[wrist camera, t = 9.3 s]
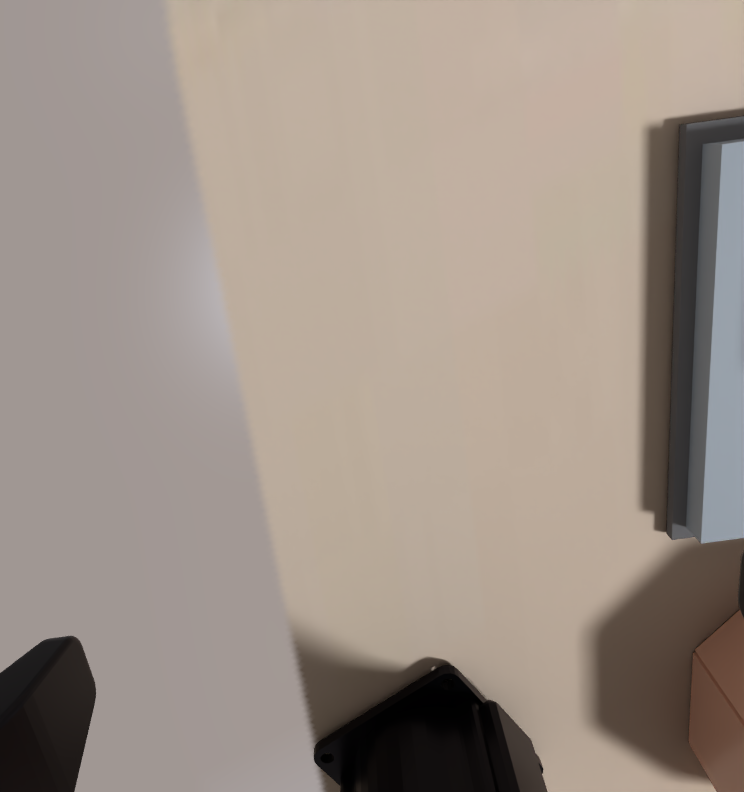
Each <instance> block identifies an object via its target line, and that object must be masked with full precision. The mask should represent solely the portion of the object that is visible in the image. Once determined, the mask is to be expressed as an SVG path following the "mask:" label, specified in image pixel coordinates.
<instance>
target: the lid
mask: <svg viewBox="0 0 744 792" xmlns="http://www.w3.org/2000/svg"><path fill="white" fill-rule="evenodd" d="M686 527H687V528H688V530H689V531H690V532H691V533H692V534H693V535H694V536H695V537H696V539H697V540H698V541H699V542H700V543H701V544H702V543H709V542H717V541H724V540H732V539H739V538H744V139H737V140H729V141H722V142H715V143H707V144H703V147H702V170H701V194H700V217H699V240H698V263H697V286H696V309H695V332H694V355H693V378H692V401H691V424H690V448H689V471H688V494H687V517H686Z"/></svg>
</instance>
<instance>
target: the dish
mask: <svg viewBox="0 0 744 792" xmlns="http://www.w3.org/2000/svg"><path fill="white" fill-rule="evenodd" d="M695 651H696V653H693V663H692V682H691V701H690V721H689V740H688V742H689V744H690V746H691V748H692V749H693V751H694V753H695V755H696V756H697V758H698V760H699V762H700V763H701V765H702V767H703V769H704V770H705V772H706V774H707V776H708V777H709V779H710V781H711V782H712V784H713V786H714V788H715V789H716V791H717V792H744V618H743V616H742V613H741V611H740V610H739V611H738V612H737V613H735V614H734V615H733V616H732V617H731V618H730V619H729V620H728V621H727V622H725V623H724V624H723V625H722V626H721V627H720V628H719V629H718V630H716V631H715V632H714V633H713V634H712V635H711V636H710V637H709V638H707V639H706V640H705V641H704V642H703V643H702V644H701V645H700V646H698V647H697V648H696V649H695Z"/></svg>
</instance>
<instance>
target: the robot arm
mask: <svg viewBox="0 0 744 792" xmlns="http://www.w3.org/2000/svg"><path fill="white" fill-rule="evenodd" d="M738 603H739V607H740V611H741V613H742V616H743V618H744V551H743V553H742V556H741V564H740V577H739V589H738ZM445 679H451V680H450V681H447V682H445V681H443V680H445ZM95 698H96V688H95V682H94V678H93V676H92V673H91V670H90V667H89V664H88V661H87V659H86V656H85V653H84V650H83V647H82V645H81V643H80V641H79V640H78V639H77V638H76V637H74V636H66V637H59V638H51V639H46V640H44V641H42V642H40V643H39V644H38V645H36V646H35V647H34V648H33V649H31V650H30V651H29V652H27V653H26V654H25V655H24V656H22V657H21V658H19V659H18V660H17V661H15V662H14V663H13V664H12V665H11V666H9V667H8V668H6V669H5V670H4V671H3V672H1V673H0V792H74V791H75V786H76V782H77V778H78V773H79V768H80V765H81V760H82V756H83V752H84V747H85V743H86V738H87V734H88V730H89V726H90V721H91V717H92V713H93V708H94V703H95ZM325 753H330V754H325ZM314 761H315V763H316V764H317V765H318V766H319V767H320V768H321V769H322V770H323V771H324V772H326V773H327V774H328V775H329V776H330V777H331V778H332V779H333V780H334V781H335V782H337V783H338V784H339V785H340V792H547V789H546V786H545V782H544V779H543V776H542V773H543V767H542V764H541V761H540V758H539V757H538V755H537V754H536V753H535V751H534V747H533V744H532V741H531V739H530V738H529V737H528V736H527V735H526V734H525V733H524V732H523V731H522V729H521V728H520V727H519V726H518V725H517V724H516V723H515V722H514V721H513V720H512V719H511V718H510V716H509V715H508V714H507V713H506V712H505V711H504V710H503V709H502V708H501V707H500V706H499V704H498V703H497V702H494V701H491V700H488V701H487V700H486V699H485V698H484V697H483V696H482V695H481V694H480V693H479V692H478V691H477V690H476V689H475V687H474V686H473V685H472V684H471V683H470V682H469V681H468V680H467V679H466V678H465V677H464V676H463V674H462V673H461V672H460V671H459V670H458V669H457V668H455V667H454V666H450V665H444V666H441V667H439V668H437V669H435V670H434V671H432V672H430V673H429V674H427V675H426V676H424V677H422V678H421V679H419V680H418V681H416V682H414V683H413V684H411V685H409V686H408V687H406V688H405V689H403V690H401V691H400V692H398V693H397V694H395V695H393V696H392V697H390V698H388V699H387V700H385V701H384V702H382V703H380V704H379V705H377V706H376V707H374V708H372V709H371V710H369V711H368V712H366V713H364V714H363V715H361V716H359V717H358V718H356V719H355V720H353V721H351V722H350V723H348V724H347V725H345V726H343V727H342V728H340V729H339V730H337V731H335V732H334V733H332V734H330V735H329V736H327V737H326V738H324V739H322V740H321V741H319V742H318V743H317V744H316V745H315V748H314Z"/></svg>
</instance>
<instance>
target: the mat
mask: <svg viewBox="0 0 744 792" xmlns="http://www.w3.org/2000/svg"><path fill="white" fill-rule="evenodd" d="M737 139H744V116H739V117H732V118H724V119H717V120H710V121H702V122H695V123H688V124H681V125H680V131H679V162H678V193H677V224H676V256H675V287H674V318H673V349H672V380H671V411H670V442H669V474H668V505H667V535H668V536H669V537H670V538H671V539H672V540H675V539H683V538H690V537H695V536H694V535H693V534H692V533H691V532H690V531H689V530H688V528H687V527H686V517H687V494H688V471H689V448H690V424H691V401H692V378H693V355H694V332H695V309H696V286H697V263H698V240H699V217H700V194H701V170H702V147H703V144H707V143H715V142H722V141H729V140H737Z"/></svg>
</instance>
